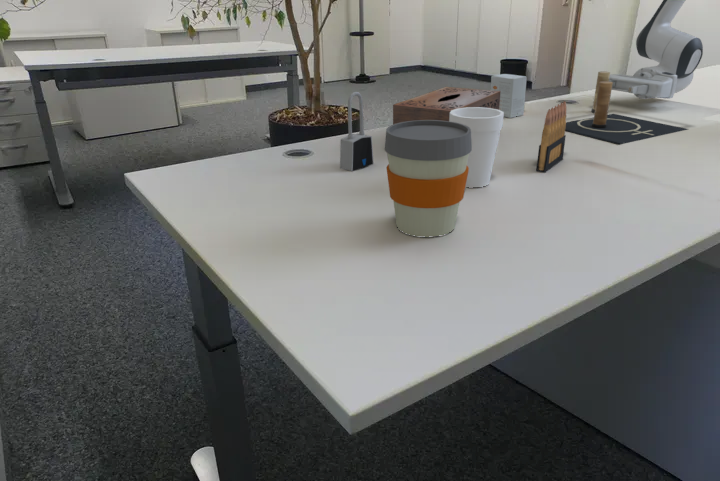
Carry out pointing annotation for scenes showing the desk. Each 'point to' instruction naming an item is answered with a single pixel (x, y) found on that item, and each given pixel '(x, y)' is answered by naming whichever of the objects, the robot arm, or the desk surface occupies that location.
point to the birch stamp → (601, 77)
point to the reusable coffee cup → (427, 174)
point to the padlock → (356, 143)
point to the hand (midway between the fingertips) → (615, 87)
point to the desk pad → (621, 129)
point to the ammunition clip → (552, 138)
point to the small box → (510, 93)
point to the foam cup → (480, 140)
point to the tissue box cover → (443, 103)
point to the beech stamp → (602, 104)
